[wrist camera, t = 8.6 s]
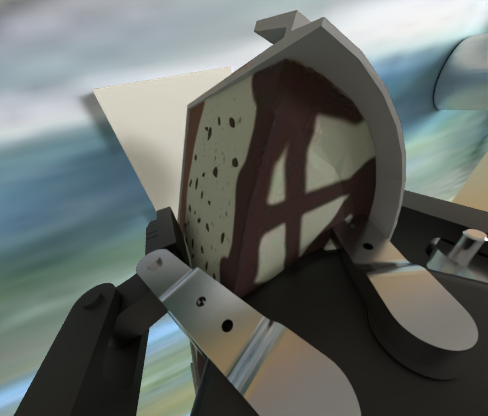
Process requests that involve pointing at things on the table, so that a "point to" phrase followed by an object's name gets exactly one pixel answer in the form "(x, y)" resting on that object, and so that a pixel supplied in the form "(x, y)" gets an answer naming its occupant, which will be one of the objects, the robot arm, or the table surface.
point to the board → (156, 127)
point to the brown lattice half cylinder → (287, 157)
